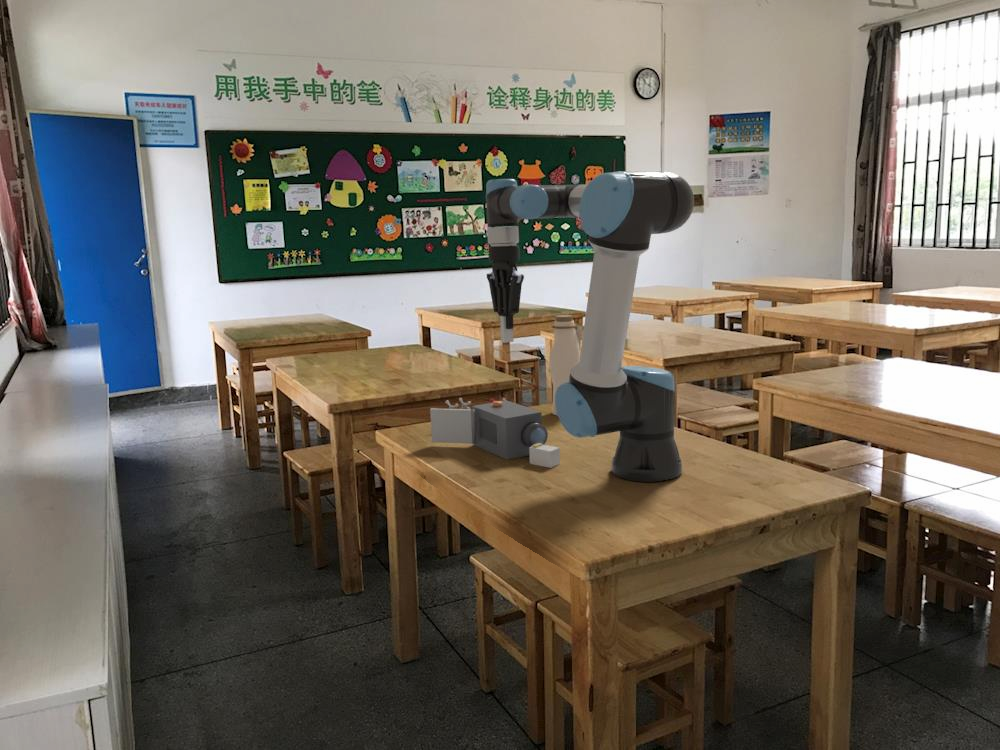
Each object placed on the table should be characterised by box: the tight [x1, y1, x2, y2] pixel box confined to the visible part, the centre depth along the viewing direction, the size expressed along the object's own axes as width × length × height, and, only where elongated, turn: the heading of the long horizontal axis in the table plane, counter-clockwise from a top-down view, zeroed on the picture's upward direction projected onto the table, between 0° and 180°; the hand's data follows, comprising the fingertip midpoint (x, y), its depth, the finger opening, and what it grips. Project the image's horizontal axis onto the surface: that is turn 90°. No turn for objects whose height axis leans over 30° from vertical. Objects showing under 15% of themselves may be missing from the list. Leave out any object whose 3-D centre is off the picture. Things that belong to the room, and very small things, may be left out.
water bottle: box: [548, 314, 582, 417], centre depth 231 cm, size 10×9×28 cm
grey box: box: [471, 399, 549, 461], centre depth 198 cm, size 19×10×11 cm, turn 31°
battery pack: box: [529, 443, 561, 469], centre depth 187 cm, size 6×4×4 cm, turn 50°
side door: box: [429, 407, 477, 445], centre depth 203 cm, size 12×2×8 cm, turn 75°
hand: (507, 341), depth 201 cm, fingers closed
